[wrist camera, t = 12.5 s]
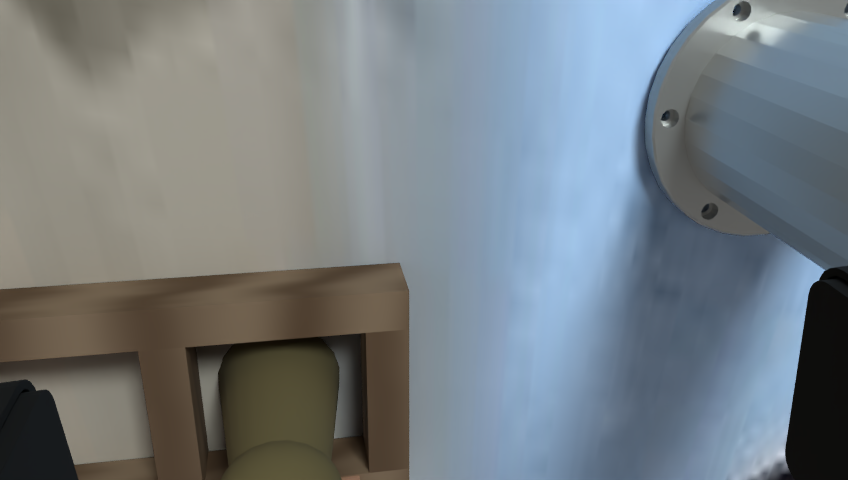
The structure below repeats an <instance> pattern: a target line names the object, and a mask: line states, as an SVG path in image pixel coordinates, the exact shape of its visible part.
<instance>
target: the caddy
mask: <svg viewBox="0 0 848 480" xmlns="http://www.w3.org/2000/svg"><path fill="white" fill-rule="evenodd" d="M358 333H360V339H361V374H362V409H363V436H356V437H347V438H337V439H334V440H333V449H332V459H331V461H332V462H333V463H334V464H335V466H336V468H337V470H338V472H339V474H340V476H341V479H342V480H409V289H408V286H407V283H406V280H405V278H404V275H403V272H402V269H401V266H400V263H391V264H376V265H361V266H346V267H331V268H316V269H301V270H286V271H271V272H256V273H242V274H227V275H212V276H197V277H182V278H167V279H152V280H137V281H122V282H107V283H92V284H77V285H62V286H47V287H32V288H17V289H2V290H0V362H11V361H23V360H36V359H48V358H60V357H73V356H85V355H98V354H110V353H122V352H135V351H138V356H139V362H140V369H141V375H142V381H143V388H144V394H145V400H146V406H147V413H148V419H149V425H150V432H151V438H152V444H153V451H154V457H150V458H140V459H130V460H120V461H110V462H100V463H91V464H81V465H74V466H75V470H76V473H77V476H78V479H79V480H221V478H222V476H223V474H224V472H225V471H226V469H227V468H228V467H229V466H228V458H227V450H219V451H208V443H207V435H206V427H205V419H204V411H203V403H202V395H201V387H200V379H199V371H198V363H197V355H196V347H197V346H209V345H222V344H234V343H246V342H259V341H271V340H284V339H296V338H308V337H321V336H333V335H346V334H358Z"/></svg>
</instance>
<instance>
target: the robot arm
mask: <svg viewBox="0 0 848 480" xmlns="http://www.w3.org/2000/svg"><path fill="white" fill-rule="evenodd" d="M735 5H736V9H735V12H734V13H733V9H734V7H735ZM665 112H666V114H665V116H664V117H663V118H662V115H663V114H664V113H665ZM645 145H646V150H647V155H648V159H649V164H650V168H651V170H652V172H653V174H654V176H655V179H656V181H657V183H658V185H659V187H660V188H661V190H662V191H663V192H664V194H665V195H666V196H667V198H668V199H669V200H670V201H671V203H672V204H674V205H675V206H676V207H677V208H678V209H679V210H681V211H682V212H683V213H684V214H685V215H687V216H688V217H689V218H691V219H692V220H694V221H695V222H697V223H698V224H700V225H702V226H704V227H706V228H709V229H712V230H715V231H718V232H720V233H724V234H731V235H739V236H754V235H766V234H770V233H771V234H772V235H774V236H775V237H777V238H778V239H780V240H781V241H783V242H784V243H786V244H787V245H789V246H790V247H792V248H793V249H795V250H796V251H798V252H799V253H800V254H802V255H803V256H805V257H806V258H808V259H809V260H811V261H812V262H814V263H815V264H817V265H818V266H820V267H821V268H823V269H824V270H826V271H824V273H823V274H822V276H821V277H820V280H819V281H817V282H815V283H814V284H813V285H812V286H811V288H810V291H809V296H808V302H807V309H806V315H805V322H804V329H803V335H802V342H801V349H800V355H799V362H798V369H797V375H796V382H795V389H794V395H793V402H792V409H791V415H790V422H789V429H788V435H787V442H786V449H785V456H786V462H787V465H788V468H789V470H790V472H791V474H792V476H793V477H794V479H795V480H848V0H715V1H714V2H712V3H711V4H709V5H708V6H707V7H706V8H705V9H704V10H703V11H702V12H700V13H699V14H698V15H697V16H696V17H695V18H694V19H693V20H692V21H691V22H690V23H689V24H688V25H687V26H686V27H685V29H684V30H683V31H682V33H681V34H680V35H679V37H678V38H677V39H676V40H675V42H674V43H673V44H672V46H671V47H670V49H669V51H668V53H667V55H666V56H665V58H664V60H663V62H662V64H661V66H660V67H659V69H658V72H657V74H656V77H655V80H654V83H653V86H652V89H651V92H650V94H649V99H648V105H647V111H646V117H645ZM0 480H79V479H78V476H77V473H76V470H75V466H74V463H73V460H72V457H71V453H70V450H69V447H68V444H67V440H66V437H65V434H64V430H63V427H62V424H61V421H60V417H59V414H58V411H57V408H56V404H55V401H54V399H53V396H52V395H51V393H50V392H49V391H48V390H38V391H36V390H35V387H34V386H33V385H32V383H31V382H30V381H28V380H19V381H11V382H4V383H0Z"/></svg>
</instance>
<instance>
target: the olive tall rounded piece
mask: <svg viewBox="0 0 848 480" xmlns="http://www.w3.org/2000/svg"><path fill="white" fill-rule="evenodd" d="M218 377H219V391H220V400H221V408H222V416H223V425H224V433H225V441H226V449H227V458H228V466H229V467H228V468H227V469H226V471H225V472H224V474H223V476H222V478H221V480H342V479H341V476H340V474H339V472H338V470H337V468H336V466H335V464H334V463H333V462H332V461H331V459H332V449H333V440H334V430H335V420H336V410H337V400H338V390H339V365H338V362H337V360H336V357H335V355H334V352H333V351H332V350H331V349H330V348H329V346H328V345H327V344H326V343H325V342H324V341H323V339H321V338H319V337H308V338H296V339H284V340H271V341H259V342H246V343H234V344H233V346H232V347H231V348H230V350H229V351H228V352H227V353H226V355H225V356H224V357H223V360H222V363H221V367H220V370H219V373H218Z"/></svg>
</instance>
